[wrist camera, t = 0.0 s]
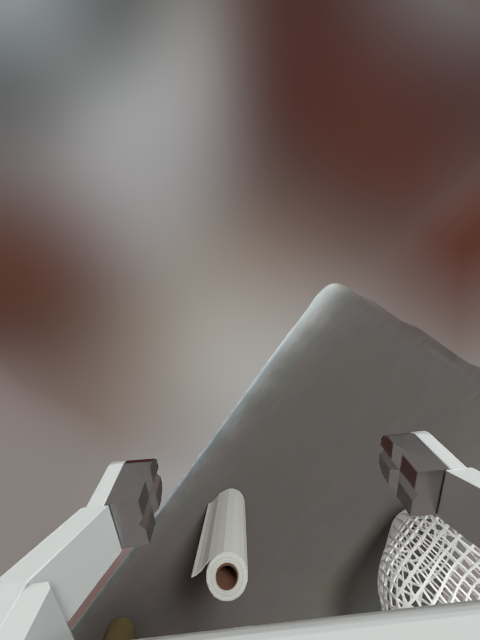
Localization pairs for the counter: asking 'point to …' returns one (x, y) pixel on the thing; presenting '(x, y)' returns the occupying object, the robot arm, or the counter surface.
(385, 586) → the heart
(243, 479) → the counter surface
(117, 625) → the olive green rounded piece
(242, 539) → the paper towel roll
